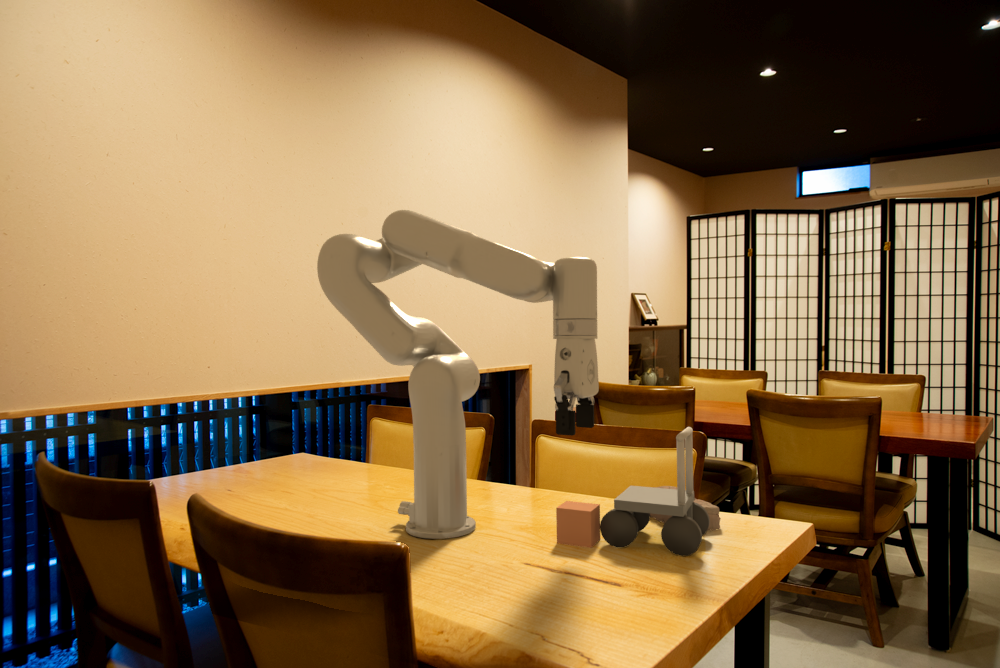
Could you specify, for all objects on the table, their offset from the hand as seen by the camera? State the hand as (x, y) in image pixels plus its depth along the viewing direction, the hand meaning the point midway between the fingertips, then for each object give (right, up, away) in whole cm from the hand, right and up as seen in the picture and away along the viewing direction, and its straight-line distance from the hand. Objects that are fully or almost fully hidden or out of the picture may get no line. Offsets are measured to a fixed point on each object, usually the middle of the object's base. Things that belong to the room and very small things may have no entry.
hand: (575, 430), depth 107 cm
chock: (0, -19, -1) cm, 19 cm away
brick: (+21, -19, +12) cm, 30 cm away
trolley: (+13, -18, -2) cm, 23 cm away
